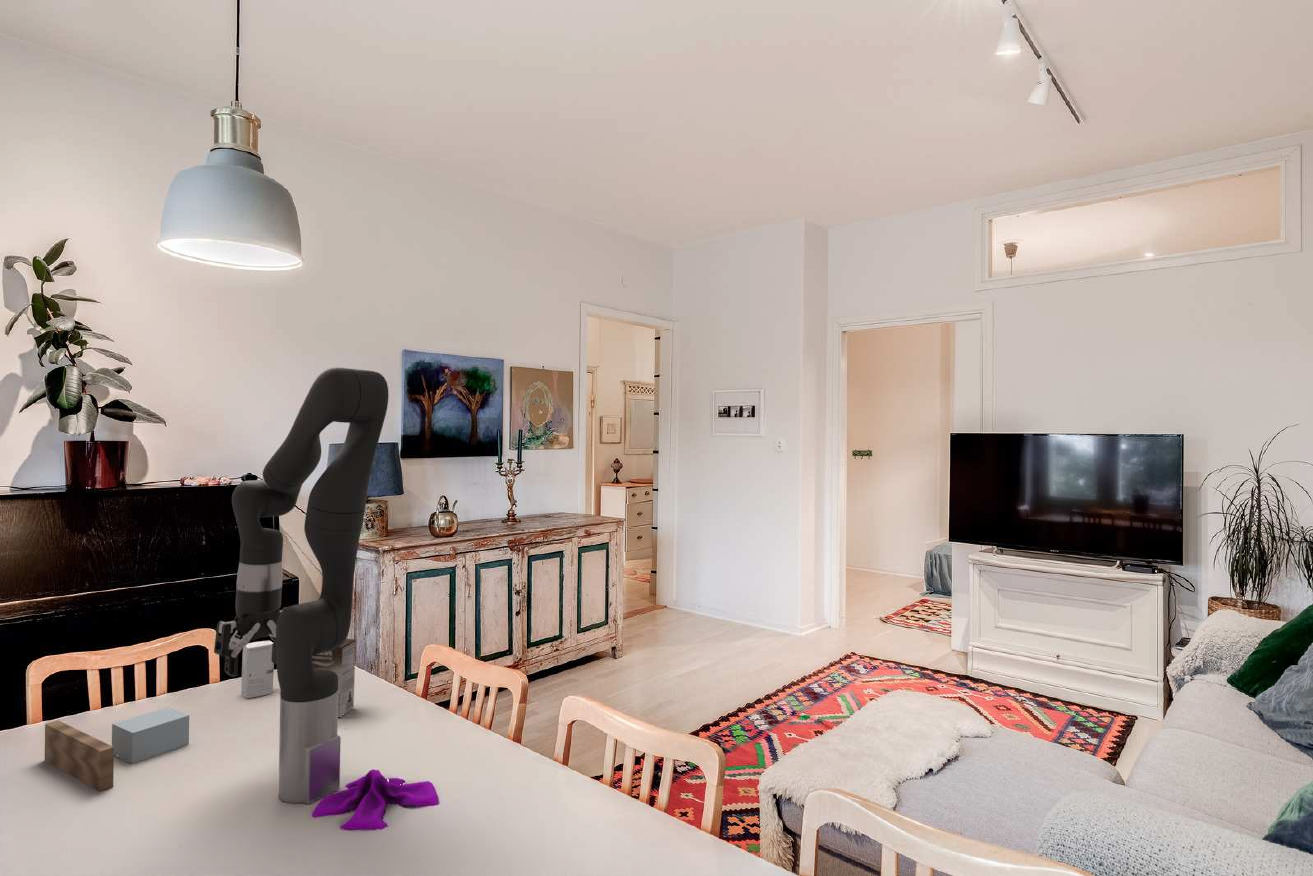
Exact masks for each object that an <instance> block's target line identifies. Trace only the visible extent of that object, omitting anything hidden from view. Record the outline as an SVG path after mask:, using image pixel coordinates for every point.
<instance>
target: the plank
mask: <svg viewBox="0 0 1313 876" xmlns="http://www.w3.org/2000/svg"><path fill="white" fill-rule="evenodd" d="M114 759H115V755H114V747H113V746H112V744H108V743H106V742H104V741H103V740H101V739H98V738H96V737H94V736H92V735H89V734H87V733H86V732H83V731H81V730H79V729H78V728H75V727H73V726H71V725H69V724H67V723H65V722H62V721H61V720H58V719H57V720H55V721H54V720H53V721H50V722H47V723H44V760H45V762H46V763H48V764H49V765H51V766H53V765H54V766H53V767H55V768H57V769H59V770H60V769H61V770H60V771H63V772H64V773H66V774H67V775H69V774H70V775H69V776H71V777H73V778H75V779H77V780H78V779H79V780H78V781H79V782H82V783H84V784H85V785H87V786H89V787H91V788H93V789H95V790H96V791H98V792H102V791H104V790H105V791H106V790H109V789H110V787H111V788H113V787H114V771H115V770H114V768H115V767H114V764H115V760H114Z"/></svg>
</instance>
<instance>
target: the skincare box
mask: <svg viewBox="0 0 1313 876" xmlns="http://www.w3.org/2000/svg"><path fill="white" fill-rule="evenodd" d="M273 643H274V641H273V642H272V641H271V640H269V639H268V640H262V641H253V642H248V644H247V645H246V646H245V647H243V648H242V656H241V657H242V661H241V664H242V666H241V693H240V694H241V696H242V697H243V696H244V697H243V698H244V699H245V700H246V699H251V698H258V697H261V696H267V695H271V694H273V692H274V669H275V667H274V666H275V664H274V663H272V660H271V659H272V644H273Z"/></svg>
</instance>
